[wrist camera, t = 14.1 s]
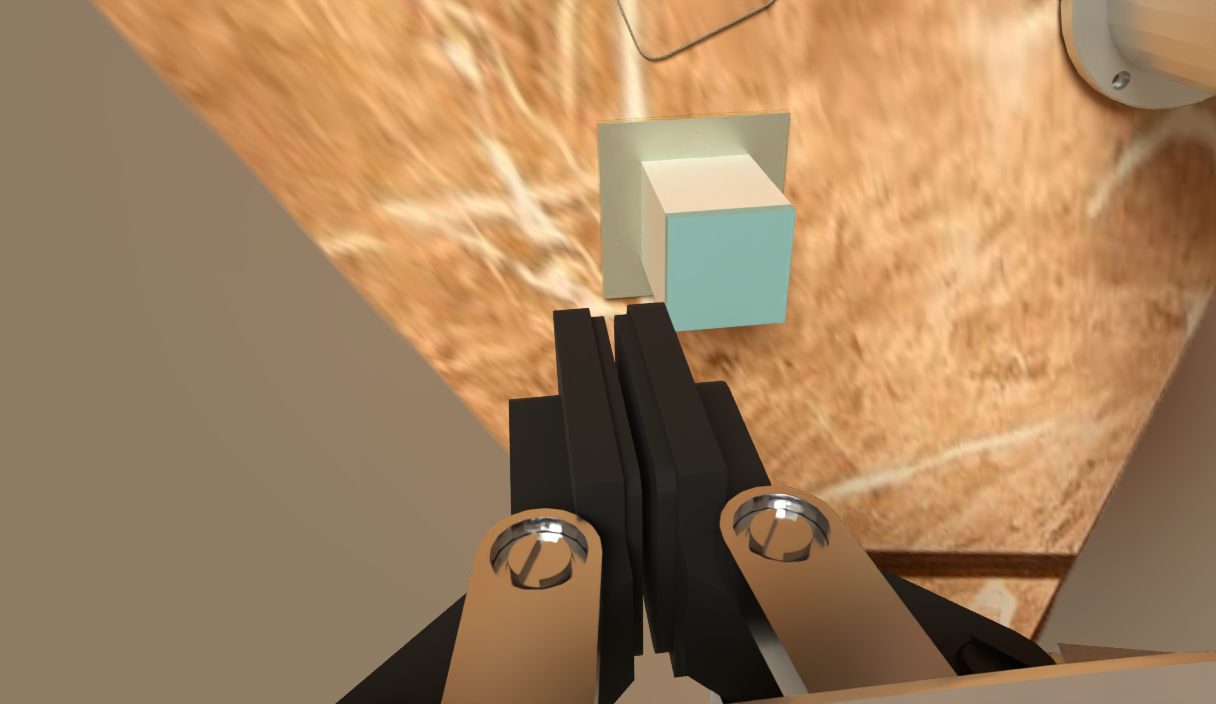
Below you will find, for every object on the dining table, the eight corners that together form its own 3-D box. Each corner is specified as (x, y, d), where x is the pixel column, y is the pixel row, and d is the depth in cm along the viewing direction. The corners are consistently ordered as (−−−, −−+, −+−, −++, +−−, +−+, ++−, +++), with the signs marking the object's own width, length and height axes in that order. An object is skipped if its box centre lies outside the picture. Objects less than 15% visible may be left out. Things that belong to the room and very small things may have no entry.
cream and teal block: (749, 154, 38) (795, 209, 32) (742, 254, 41) (784, 322, 35) (641, 161, 38) (668, 218, 32) (641, 262, 41) (666, 332, 35)
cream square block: (786, 109, 38) (832, 149, 33) (771, 280, 43) (809, 339, 38) (596, 120, 37) (612, 163, 32) (602, 293, 42) (617, 355, 37)
